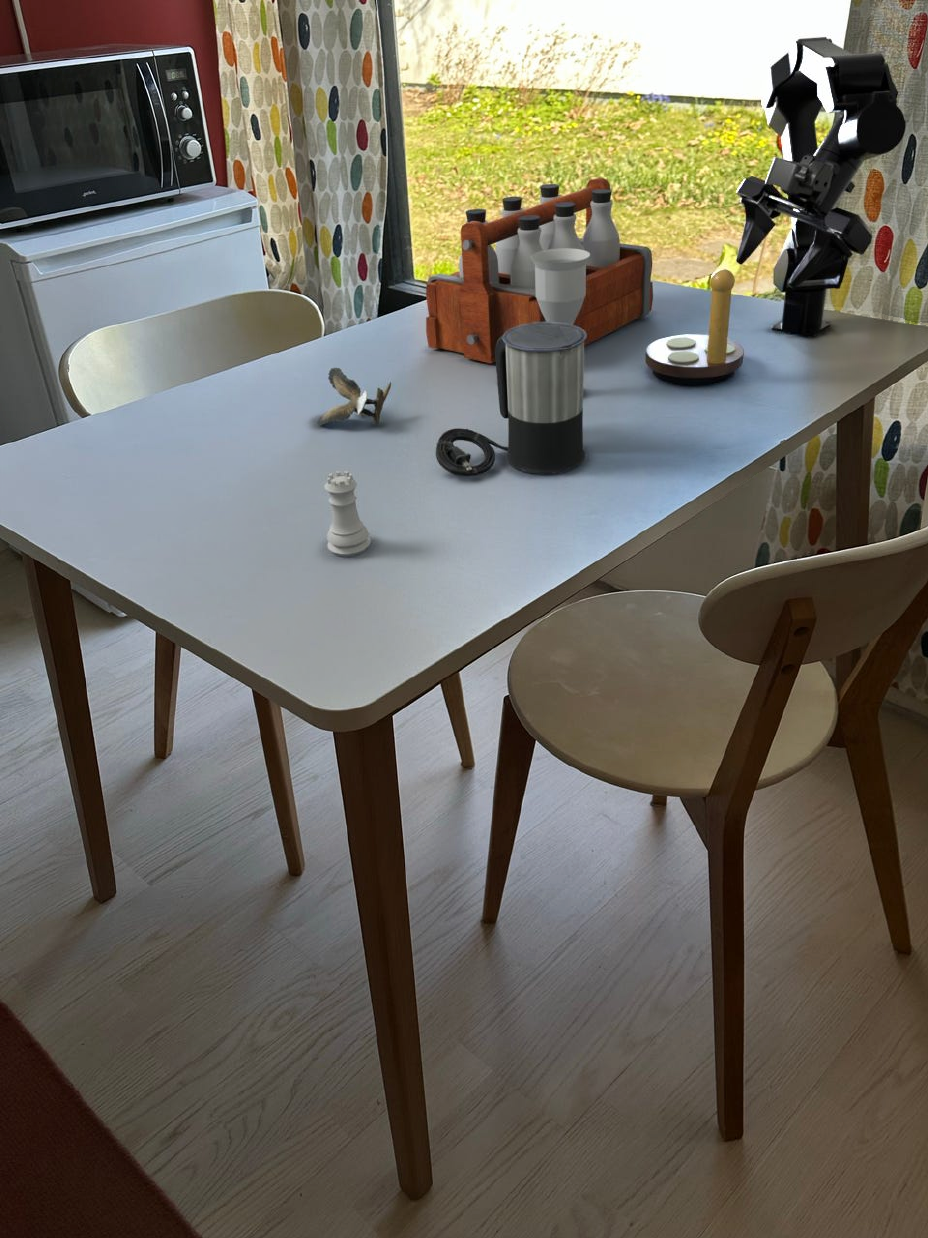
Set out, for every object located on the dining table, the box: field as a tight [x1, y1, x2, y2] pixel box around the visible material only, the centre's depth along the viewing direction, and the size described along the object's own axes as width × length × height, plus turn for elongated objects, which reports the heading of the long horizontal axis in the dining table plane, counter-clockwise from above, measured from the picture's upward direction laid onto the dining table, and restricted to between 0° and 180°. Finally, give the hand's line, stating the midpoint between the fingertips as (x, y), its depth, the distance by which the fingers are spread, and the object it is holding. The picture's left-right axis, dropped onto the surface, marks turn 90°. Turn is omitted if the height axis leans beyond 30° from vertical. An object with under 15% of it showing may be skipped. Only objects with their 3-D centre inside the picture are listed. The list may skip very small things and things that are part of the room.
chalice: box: [531, 248, 590, 325], centre depth 132 cm, size 7×7×18 cm
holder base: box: [651, 369, 735, 387], centre depth 141 cm, size 11×11×1 cm
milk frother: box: [435, 322, 587, 477], centre depth 116 cm, size 14×16×15 cm
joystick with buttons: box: [644, 268, 745, 378], centre depth 137 cm, size 13×13×13 cm
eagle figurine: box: [316, 367, 392, 427], centre depth 132 cm, size 8×7×9 cm
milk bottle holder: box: [425, 177, 654, 364], centre depth 153 cm, size 21×35×19 cm, turn 141°
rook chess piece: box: [324, 470, 372, 558], centre depth 104 cm, size 4×4×8 cm
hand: (764, 274), depth 134 cm, fingers open, 9 cm apart
